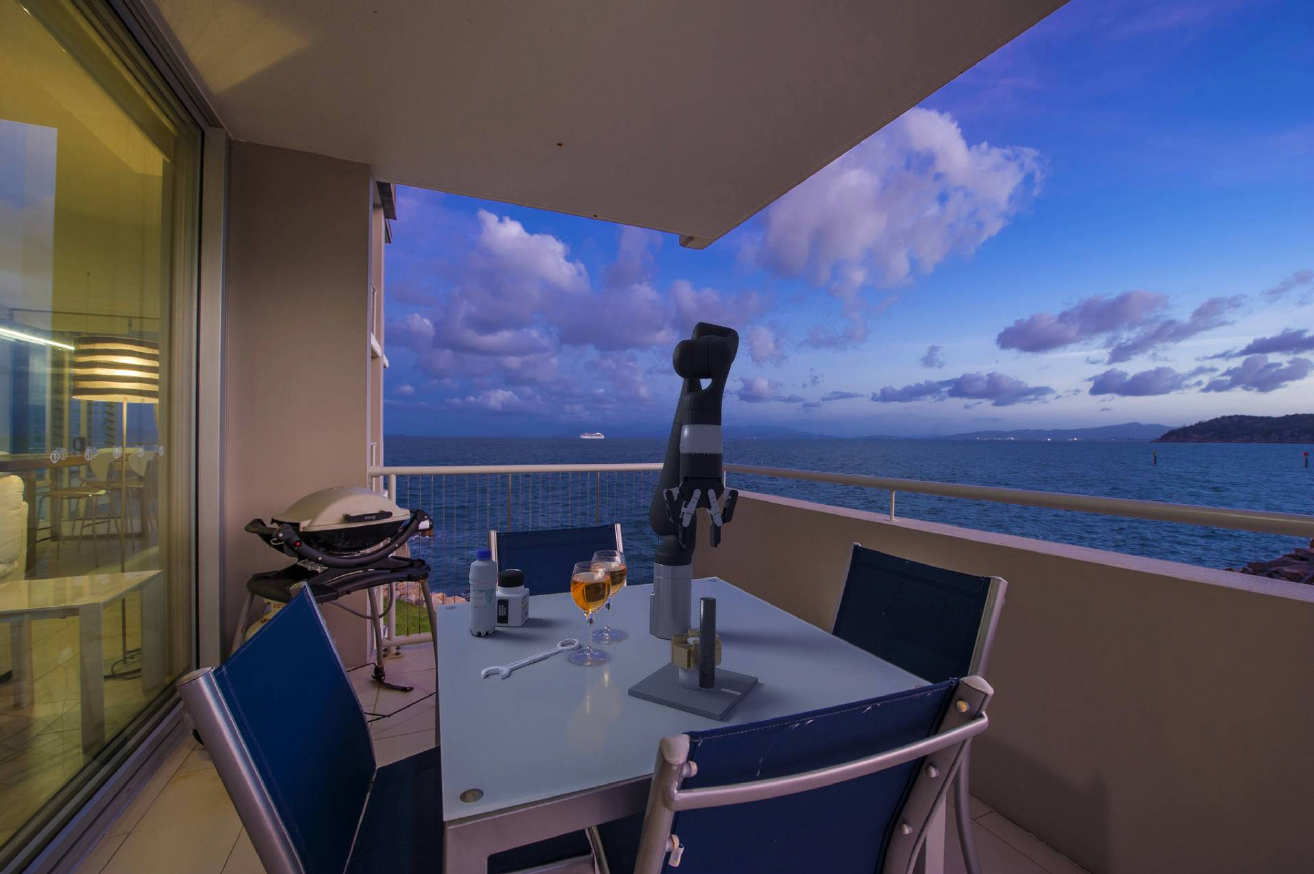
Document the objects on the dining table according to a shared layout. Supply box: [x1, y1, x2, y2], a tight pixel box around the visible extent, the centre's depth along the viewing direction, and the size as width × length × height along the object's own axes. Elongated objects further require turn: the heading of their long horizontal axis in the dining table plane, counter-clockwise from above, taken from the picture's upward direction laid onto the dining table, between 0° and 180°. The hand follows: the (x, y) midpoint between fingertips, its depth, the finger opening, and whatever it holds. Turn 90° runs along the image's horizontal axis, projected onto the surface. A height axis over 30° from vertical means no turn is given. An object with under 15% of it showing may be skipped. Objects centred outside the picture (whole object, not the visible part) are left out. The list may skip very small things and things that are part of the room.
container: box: [496, 568, 530, 627], centre depth 142 cm, size 8×8×13 cm
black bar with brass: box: [669, 596, 722, 690], centre depth 99 cm, size 19×9×15 cm, turn 4°
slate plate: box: [627, 637, 759, 722], centre depth 103 cm, size 18×18×9 cm
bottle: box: [468, 548, 499, 637], centre depth 133 cm, size 7×7×20 cm
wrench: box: [480, 638, 580, 680], centre depth 116 cm, size 25×5×2 cm, turn 144°
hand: (699, 546), depth 98 cm, fingers open, 4 cm apart
